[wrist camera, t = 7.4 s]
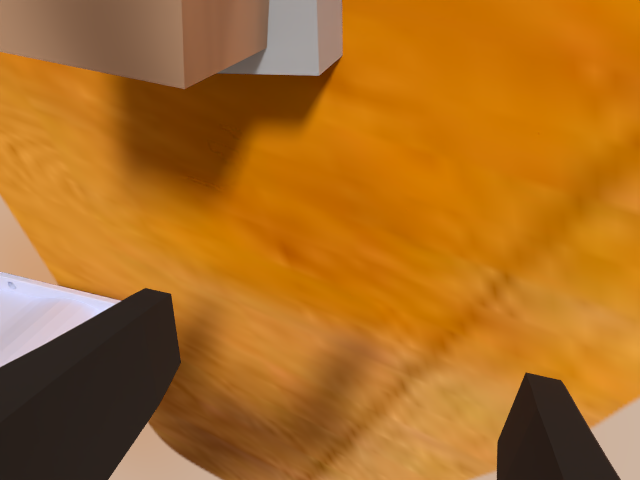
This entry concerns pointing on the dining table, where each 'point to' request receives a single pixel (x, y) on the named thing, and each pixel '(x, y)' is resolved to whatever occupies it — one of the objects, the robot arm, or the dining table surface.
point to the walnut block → (137, 35)
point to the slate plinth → (297, 39)
